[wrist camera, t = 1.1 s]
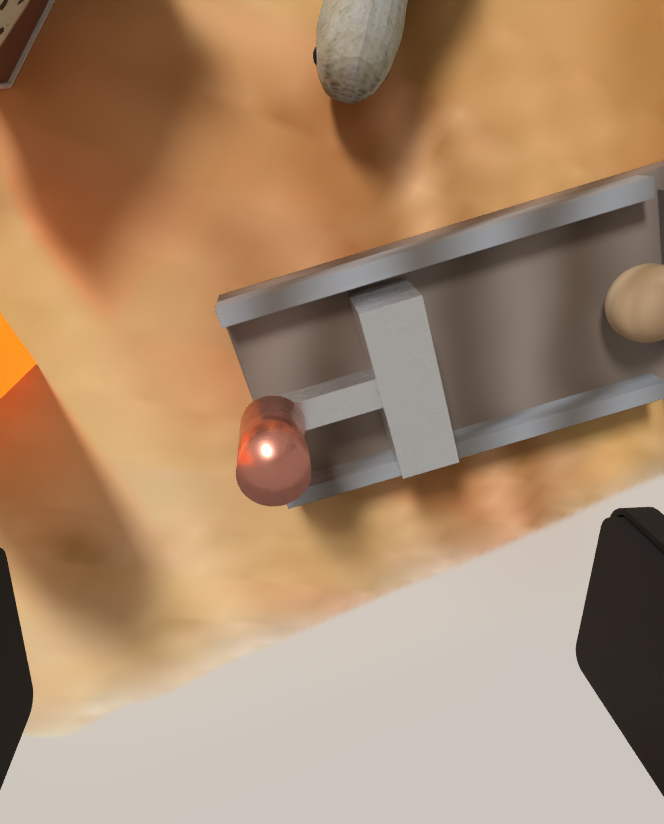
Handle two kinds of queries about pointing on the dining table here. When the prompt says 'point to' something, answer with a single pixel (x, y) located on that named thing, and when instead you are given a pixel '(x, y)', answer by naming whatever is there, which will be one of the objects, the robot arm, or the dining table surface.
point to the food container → (19, 34)
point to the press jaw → (356, 401)
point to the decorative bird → (357, 45)
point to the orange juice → (12, 358)
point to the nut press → (480, 323)
